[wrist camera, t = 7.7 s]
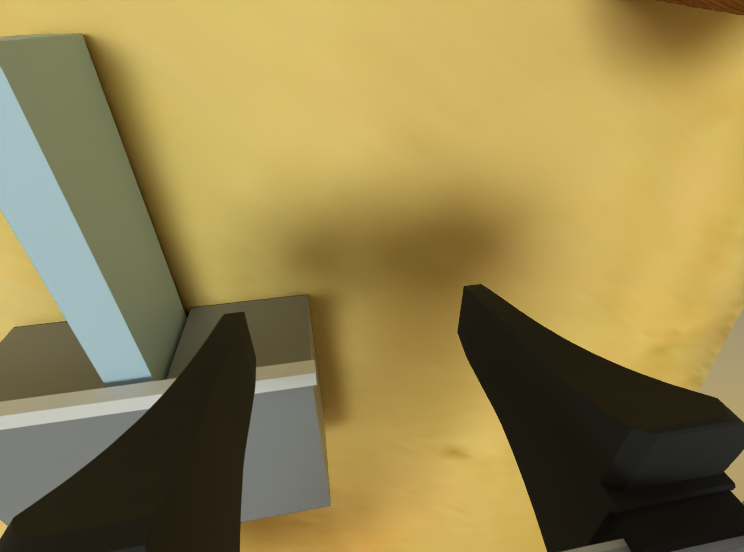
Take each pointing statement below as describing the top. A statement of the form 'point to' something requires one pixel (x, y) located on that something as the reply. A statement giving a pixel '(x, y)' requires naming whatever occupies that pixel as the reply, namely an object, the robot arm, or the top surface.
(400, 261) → the top surface
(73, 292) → the light blue rectangular block
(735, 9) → the disposable coffee cup
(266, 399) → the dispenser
